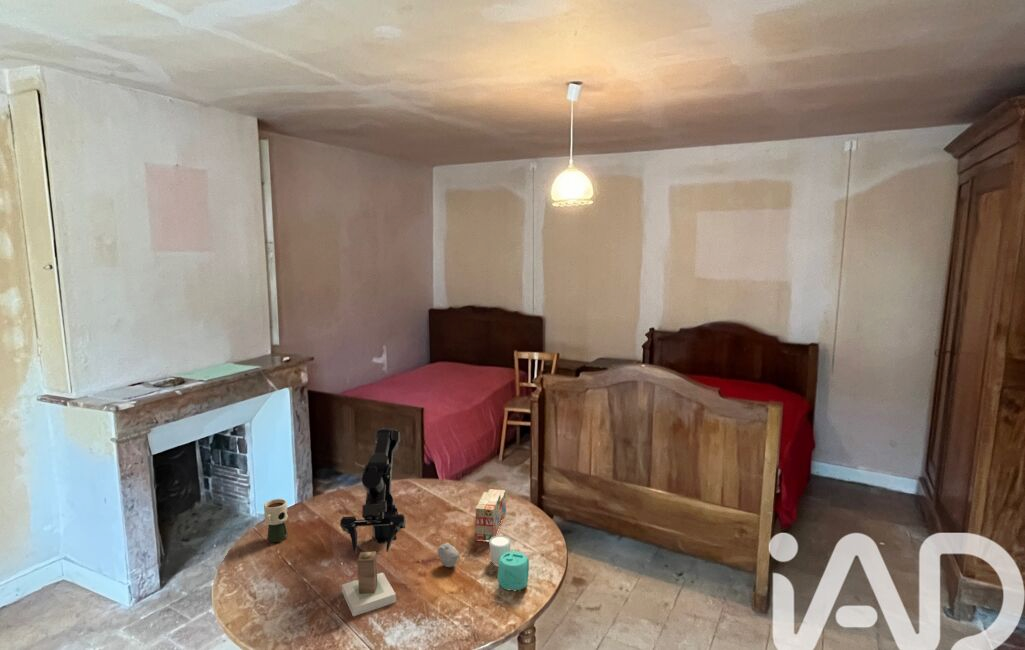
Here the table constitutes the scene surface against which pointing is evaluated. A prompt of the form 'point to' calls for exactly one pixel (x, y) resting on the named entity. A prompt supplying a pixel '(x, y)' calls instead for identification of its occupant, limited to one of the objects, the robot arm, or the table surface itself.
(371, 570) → the walnut pillar
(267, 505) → the character mug
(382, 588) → the baseplate
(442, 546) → the grey rock
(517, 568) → the teal lidded canister
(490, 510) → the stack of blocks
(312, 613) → the table surface
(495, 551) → the white cylinder
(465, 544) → the table surface
